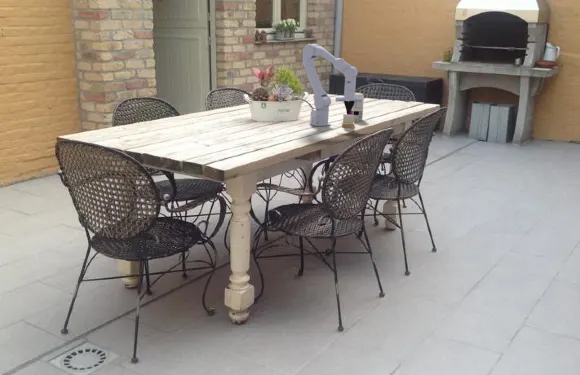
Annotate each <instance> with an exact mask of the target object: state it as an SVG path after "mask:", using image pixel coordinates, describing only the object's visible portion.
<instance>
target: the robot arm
mask: <svg viewBox="0 0 580 375" xmlns="http://www.w3.org/2000/svg"><path fill="white" fill-rule="evenodd" d="M317 57H322V58H323V59H325V60H327V61H328V62H330V63H332V65H333V67H334V69H335V70H338V71H339V72H340V73H341V74H343V76H344V91H343V92H344V93H343V97H335V102H343V104H344V107H345V110H346V114H348V115H350V113H351V110H352V107H353V106H354V104H355V103H354V102H363V98H355V93H356V85H357V76H358V74H359V70H358V69H357V66H354V65H353V66H352V64H351V63H348V62H347V61H345V59H344V57H343V58H341V57H338V58H337V57H336V56H334V55H333V54H332V53H330V52H329V51H328V50H327V49H325V48H324V47H323V46H321V45H320V44H319V43H311V44H310V43H308V44H306V45H304V47H303V49H302V65H303V68H304V71H305V73H306V75H307V79H308V81H309V83H310V86H311V89H312V90H313V105H314V107H315V108H313V109H311V111H310V122H309V125H312V126H314V127H322V126H323V127H325V126H332V124H330V123H329V114H330V113H329V111H330V110H329V109H330V105H331V103H332V100H331V97H329V95H328V93H327V92H326V91H325V90H324V87H323V85H322V83H321V80H320V77H319V75H318V73H317V69H316V67H315V65H314V62H315V60H316V58H317ZM349 100H353V101H349ZM363 103H364V102H363Z"/></svg>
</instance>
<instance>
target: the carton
mask: <svg viewBox="0 0 580 375" xmlns="http://www.w3.org/2000/svg"><path fill="white" fill-rule="evenodd" d="M349 127H354V128H355V121H353V124H348V123H343V122H342V123H341V128H349Z"/></svg>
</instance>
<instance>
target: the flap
mask: <svg viewBox="0 0 580 375" xmlns="http://www.w3.org/2000/svg"><path fill="white" fill-rule="evenodd" d="M342 114H343V113H342ZM342 117H343V118H342V119H343V120H342V123H348V124H353V122H355V120H354V119H353V115H348V114H347V113H346V114H343V115H342Z"/></svg>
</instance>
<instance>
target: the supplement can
mask: <svg viewBox="0 0 580 375" xmlns="http://www.w3.org/2000/svg"><path fill="white" fill-rule="evenodd" d="M355 98H363V102H354V103H355V104H354V106H353V107H352V110H351V113H350V115H353V119H354V121H362V119H363V117H364V115H363V113H364V99H365V96H364V94H363V93H361V92H355ZM348 101H353V100H348Z"/></svg>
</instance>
